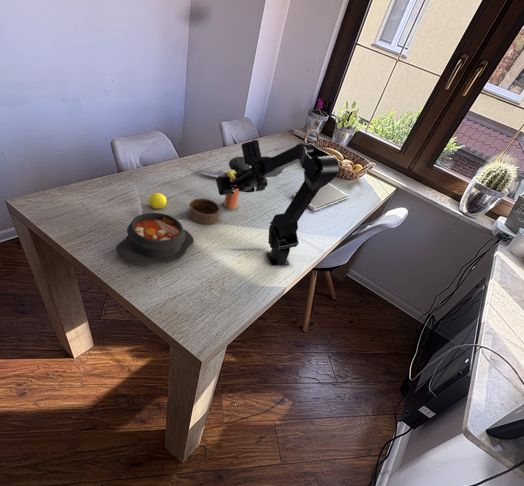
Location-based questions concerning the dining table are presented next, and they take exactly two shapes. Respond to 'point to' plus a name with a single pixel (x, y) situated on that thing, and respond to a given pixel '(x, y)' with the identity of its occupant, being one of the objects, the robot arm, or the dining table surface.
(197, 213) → the bowl
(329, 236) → the dining table surface
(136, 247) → the casserole
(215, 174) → the knife
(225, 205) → the bottle
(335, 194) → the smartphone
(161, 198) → the lemon
